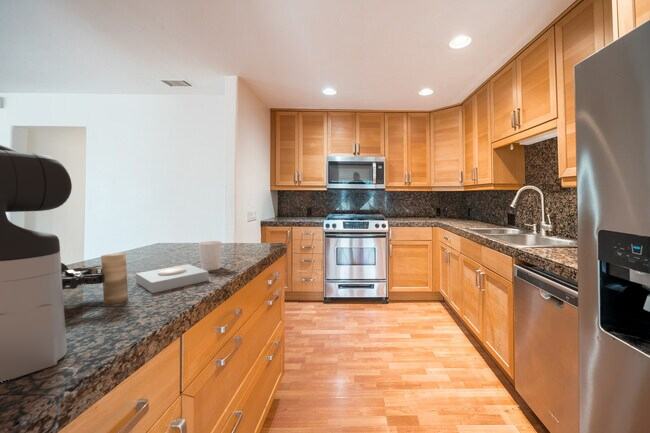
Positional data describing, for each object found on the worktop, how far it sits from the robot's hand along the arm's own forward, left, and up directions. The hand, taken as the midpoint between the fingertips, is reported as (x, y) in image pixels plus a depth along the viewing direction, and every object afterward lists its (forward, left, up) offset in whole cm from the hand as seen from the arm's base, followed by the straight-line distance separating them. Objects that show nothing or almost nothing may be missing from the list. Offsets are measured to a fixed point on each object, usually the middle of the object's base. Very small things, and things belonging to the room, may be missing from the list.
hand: (113, 273), depth 71 cm
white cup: (+14, -32, -7) cm, 36 cm away
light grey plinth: (+7, -16, -7) cm, 19 cm away
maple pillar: (0, 0, -7) cm, 7 cm away
